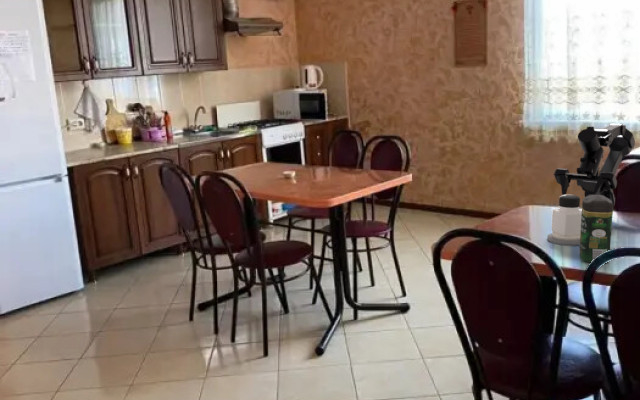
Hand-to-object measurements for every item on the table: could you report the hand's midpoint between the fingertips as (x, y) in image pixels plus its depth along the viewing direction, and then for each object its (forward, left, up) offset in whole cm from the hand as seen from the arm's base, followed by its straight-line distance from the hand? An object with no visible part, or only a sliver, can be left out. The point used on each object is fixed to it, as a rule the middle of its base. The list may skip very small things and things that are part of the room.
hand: (577, 199), depth 202 cm
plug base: (+7, +1, -12) cm, 14 cm away
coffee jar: (+21, +15, -12) cm, 28 cm away
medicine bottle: (+7, +1, -10) cm, 12 cm away
